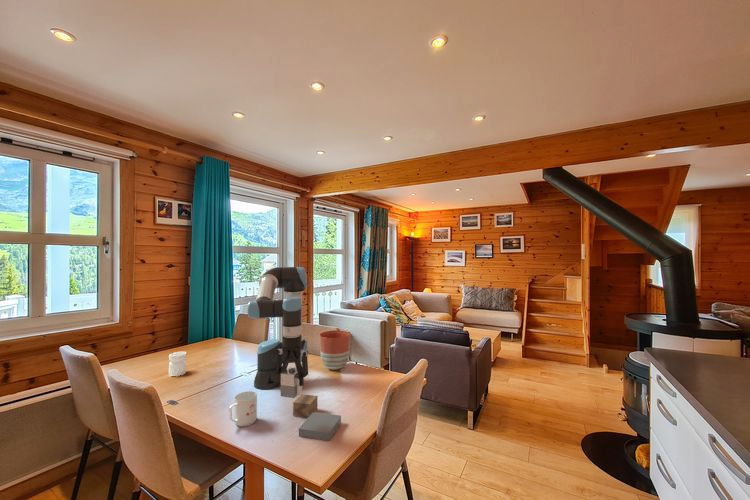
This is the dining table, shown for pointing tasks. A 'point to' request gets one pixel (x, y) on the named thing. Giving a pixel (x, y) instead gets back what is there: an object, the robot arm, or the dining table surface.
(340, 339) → the planter
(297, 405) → the walnut stand
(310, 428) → the slate stand
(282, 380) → the block
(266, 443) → the dining table surface
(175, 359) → the white lidded jar
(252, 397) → the mug
